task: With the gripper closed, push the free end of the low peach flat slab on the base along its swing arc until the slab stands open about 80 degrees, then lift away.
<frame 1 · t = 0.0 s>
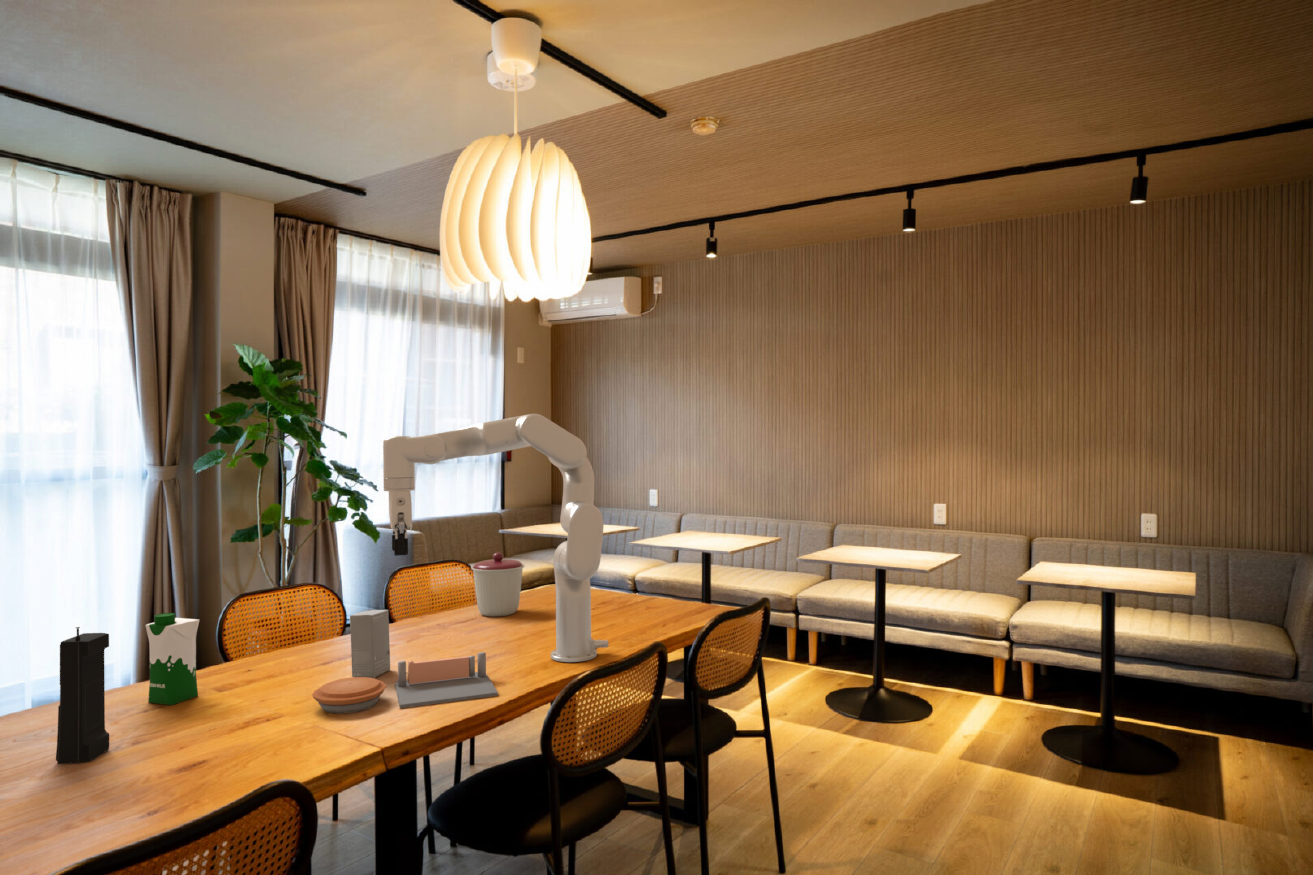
hand: (399, 552, 197), 31 cm above the table, tool pointing down, fingers open, 9 cm apart
skincare box: (370, 674, 200), on the table
canister: (498, 614, 270), on the table
gate frame: (445, 690, 185), on the table
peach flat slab: (442, 668, 190), point 4 cm above the table, hinge at 0.0°
milk carton: (173, 700, 181), on the table
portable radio: (84, 756, 148), on the table
pie: (350, 706, 176), on the table
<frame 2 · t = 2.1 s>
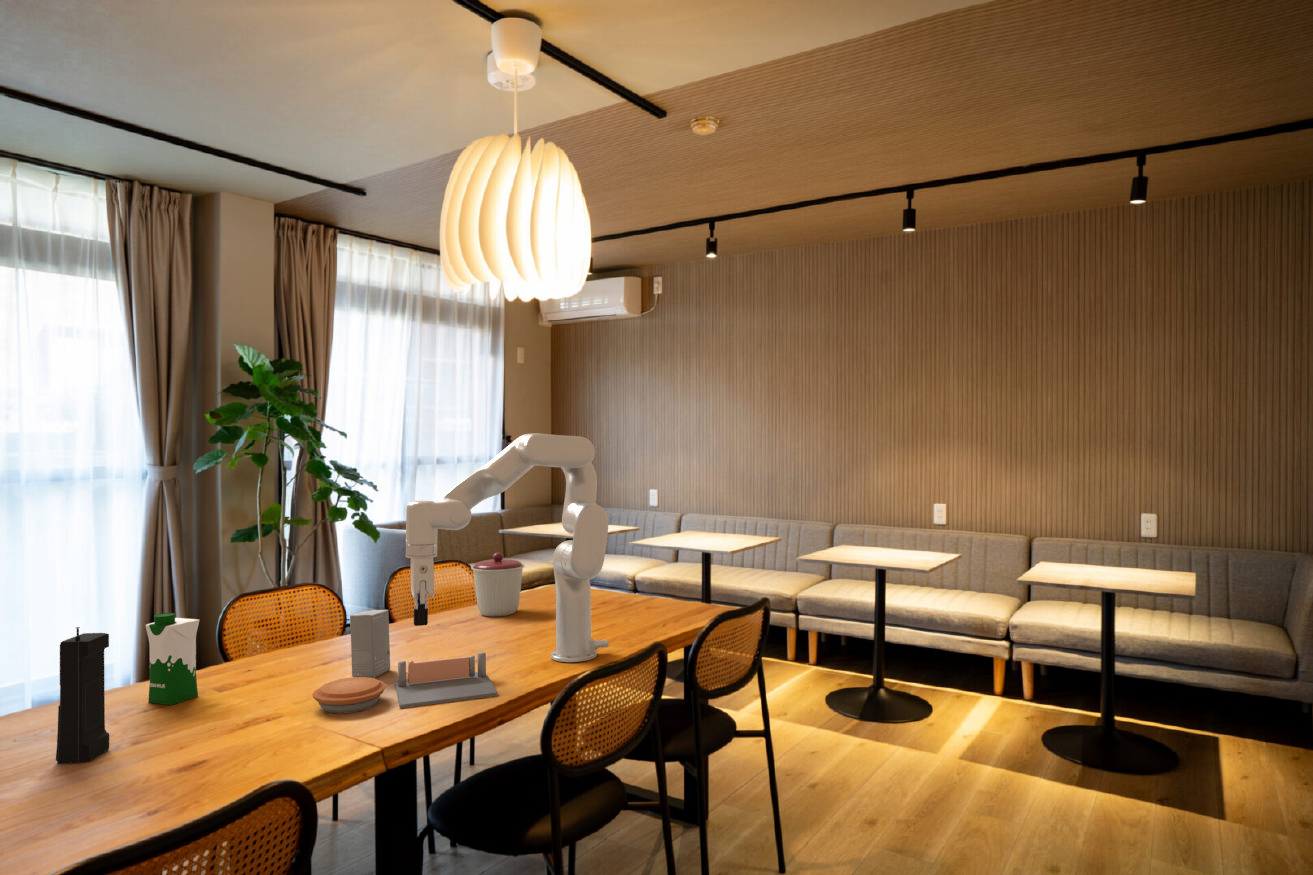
hand: (420, 624, 194), 14 cm above the table, tool pointing down, fingers closed
nothing on the table moved.
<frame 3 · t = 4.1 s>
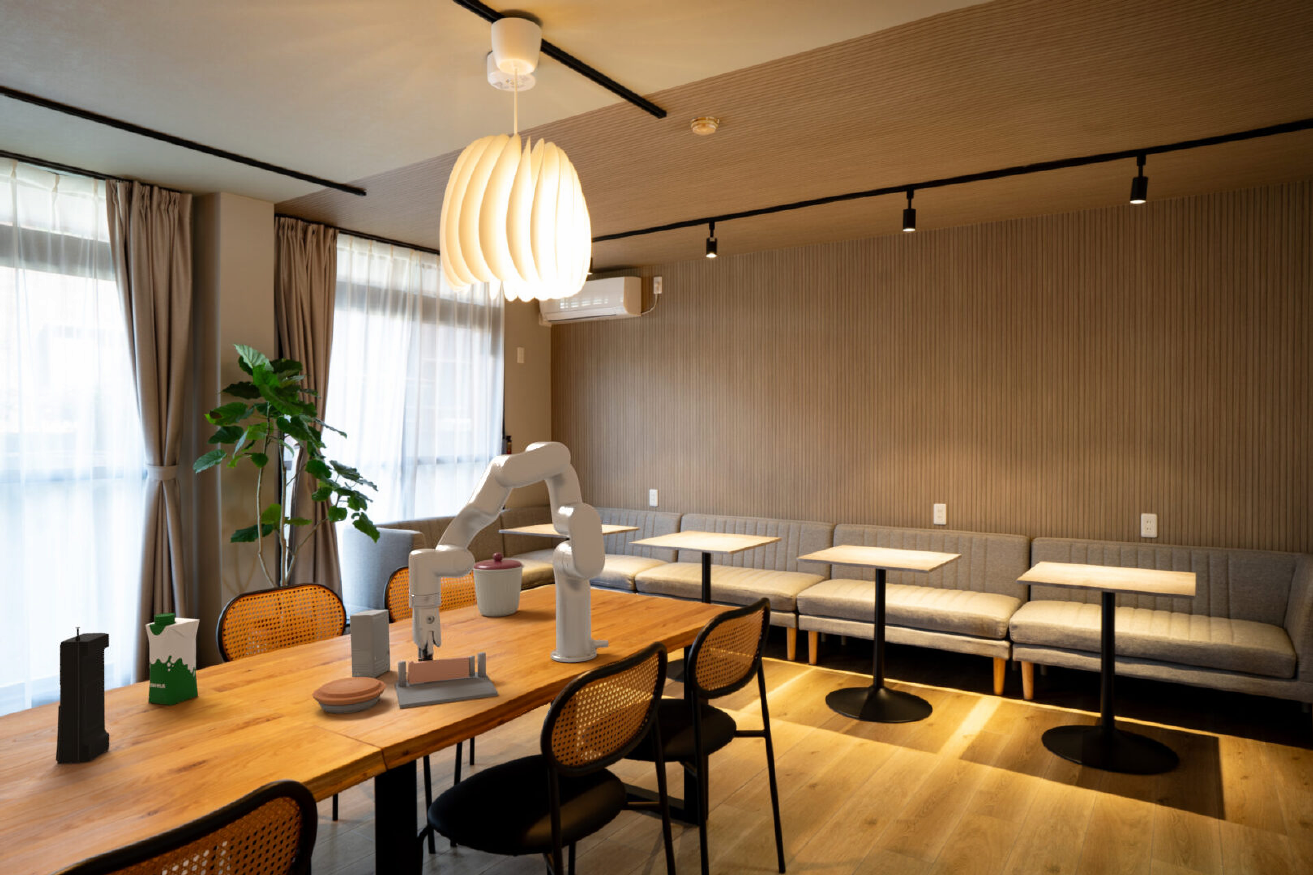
hand: (425, 674, 192), 2 cm above the table, tool pointing down, fingers closed
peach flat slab: (442, 668, 190), point 4 cm above the table, hinge at 0.1°, touching gripper
everything else where it was.
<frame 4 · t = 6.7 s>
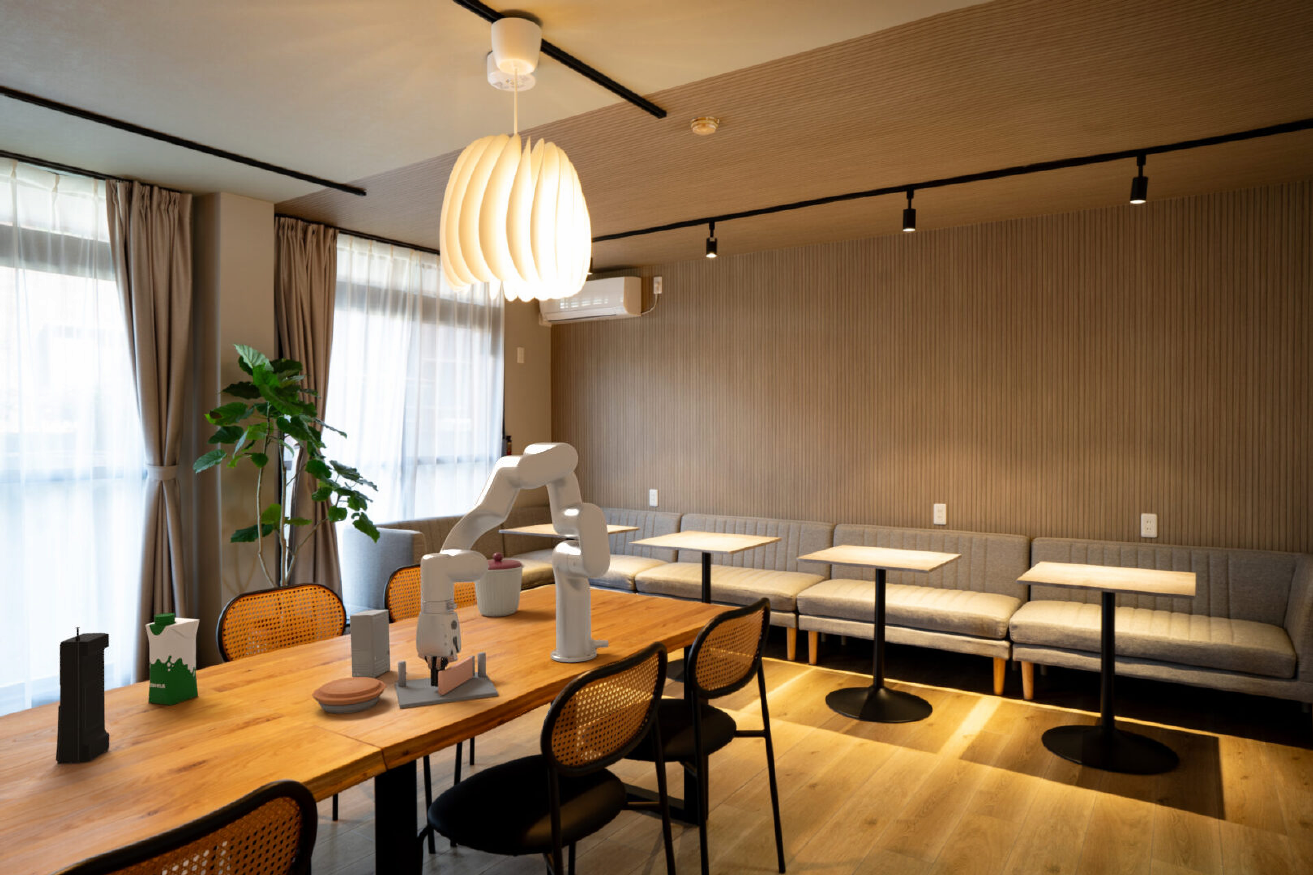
hand: (437, 684, 183), 2 cm above the table, tool pointing down, fingers closed
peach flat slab: (457, 673, 186), point 4 cm above the table, hinge at 53.6°, touching gripper
everything else where it was.
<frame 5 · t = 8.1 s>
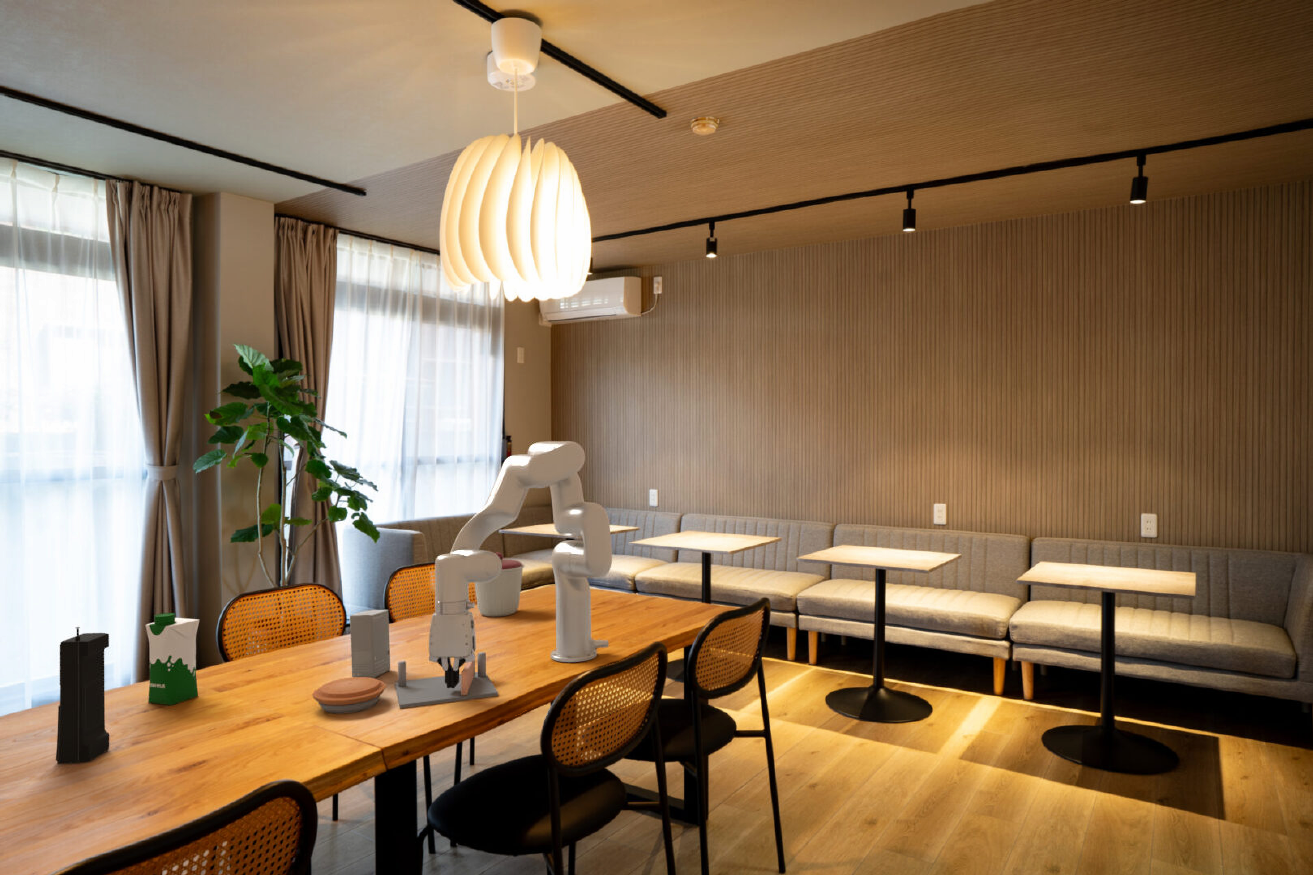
hand: (452, 686, 182), 2 cm above the table, tool pointing down, fingers closed
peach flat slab: (468, 673, 185), point 4 cm above the table, hinge at 74.8°, touching gripper
everything else where it was.
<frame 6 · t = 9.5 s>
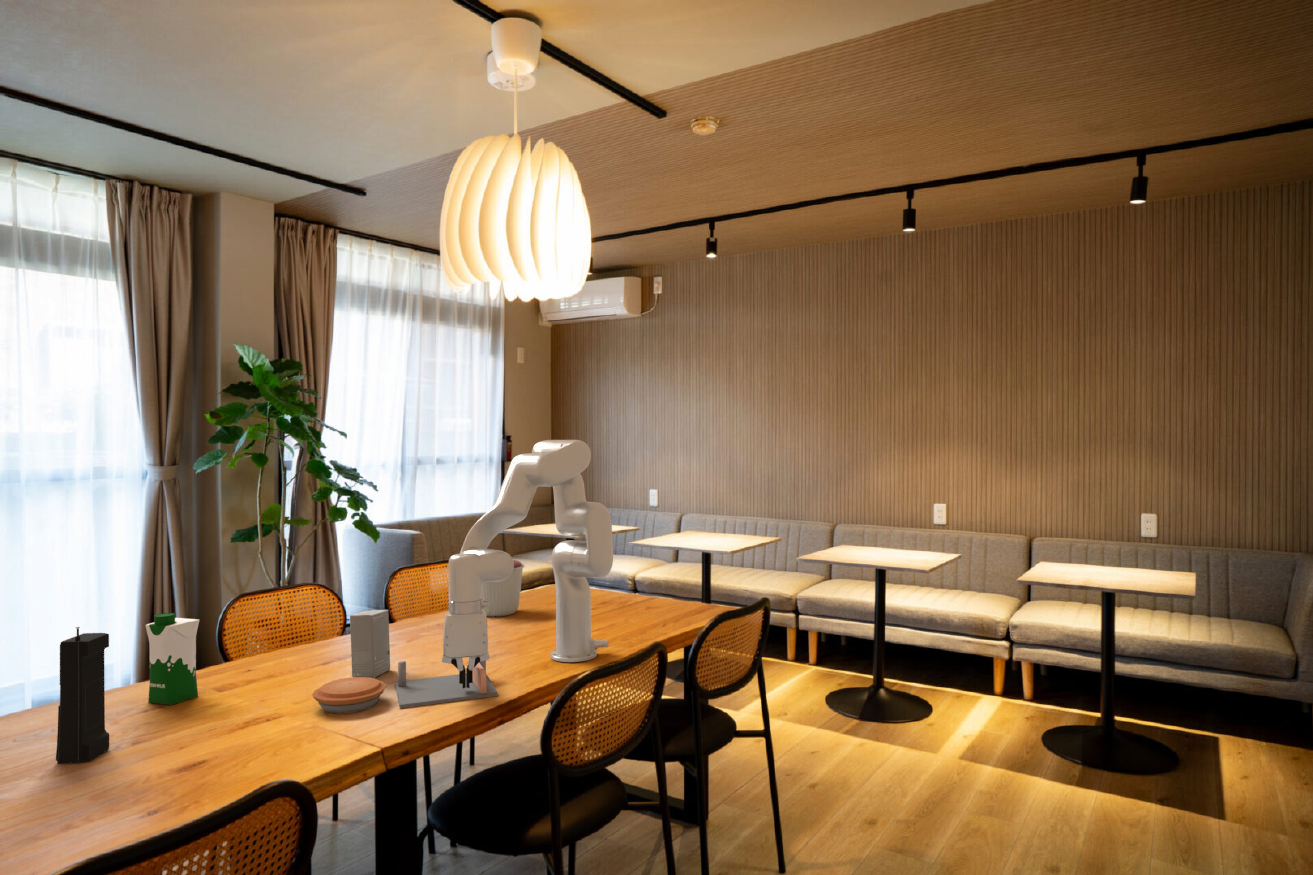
hand: (466, 686, 181), 2 cm above the table, tool pointing down, fingers closed
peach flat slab: (477, 672, 186), point 4 cm above the table, hinge at 91.9°
everything else where it was.
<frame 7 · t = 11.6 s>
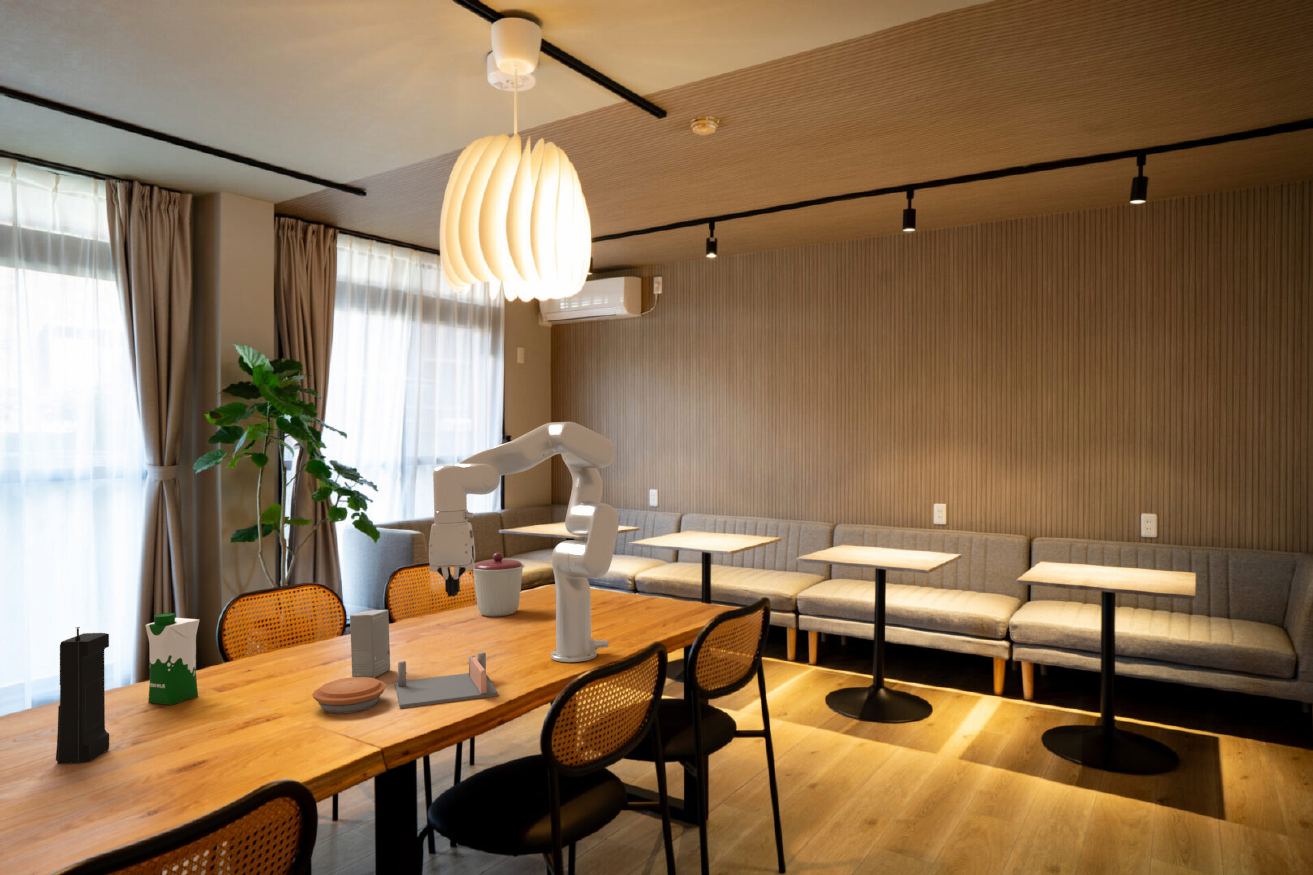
hand: (452, 595, 185), 23 cm above the table, tool pointing down, fingers closed
nothing on the table moved.
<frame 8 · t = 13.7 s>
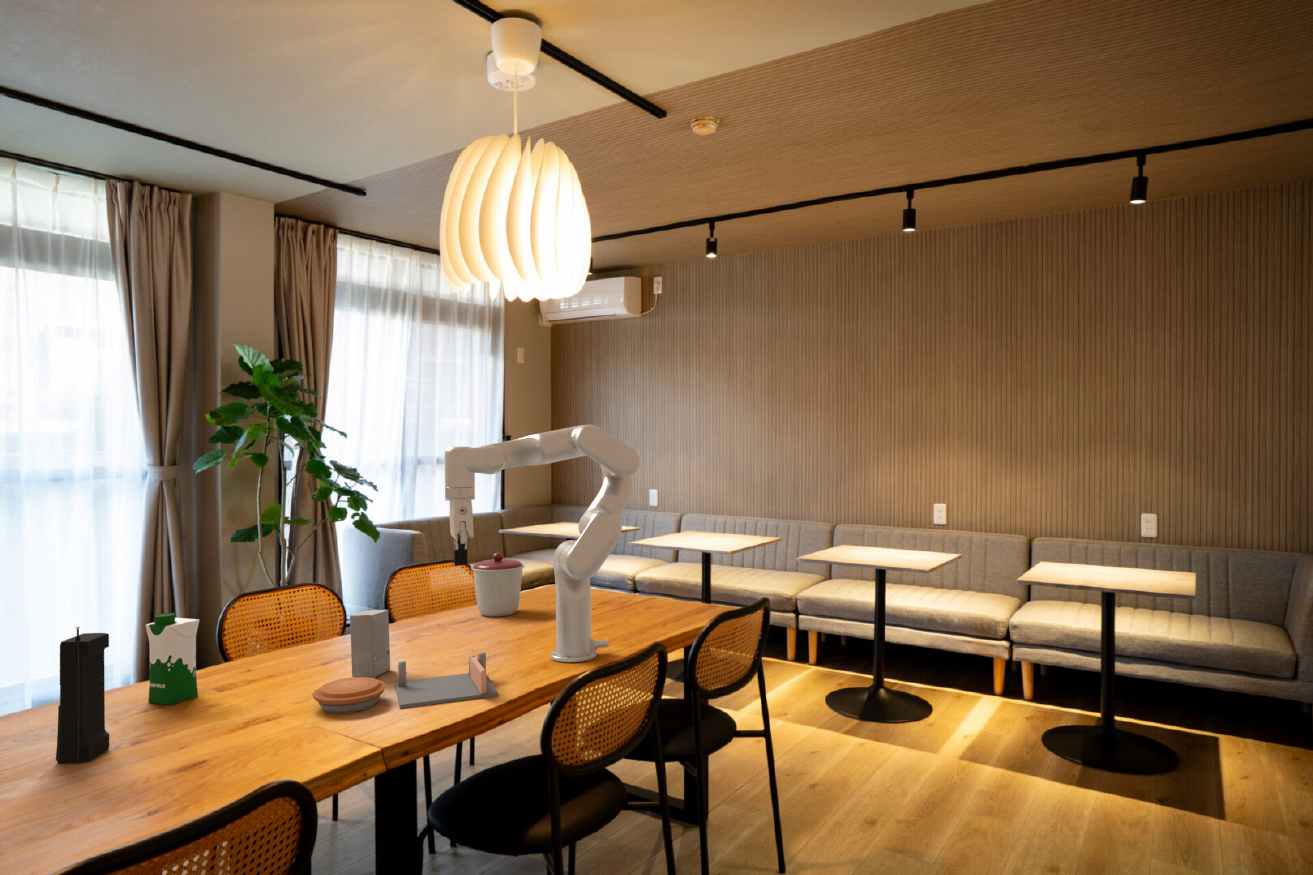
hand: (460, 564, 203), 27 cm above the table, tool pointing down, fingers closed
nothing on the table moved.
at the end: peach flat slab at +92° (first picture: +0°); skincare box moved 0.2 cm from its start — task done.
